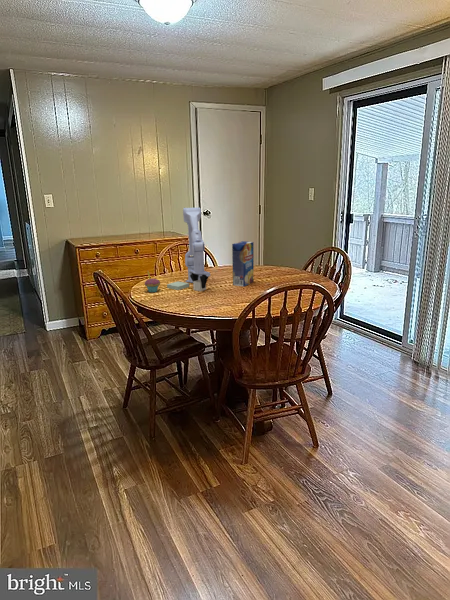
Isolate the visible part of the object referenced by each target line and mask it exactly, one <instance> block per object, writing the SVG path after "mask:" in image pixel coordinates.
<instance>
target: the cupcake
mask: <svg viewBox="0 0 450 600" xmlns="http://www.w3.org/2000/svg"><path fill="white" fill-rule="evenodd" d="M147 275H148V279H146V281H144V286H145V287H146V288H147V291H148V292H149V293H157V292H158V290H159V286H160V285H161V281H160V280H159V279H157V278H151V276H150V275H151V274H150V272H149V270H147Z"/></svg>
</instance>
